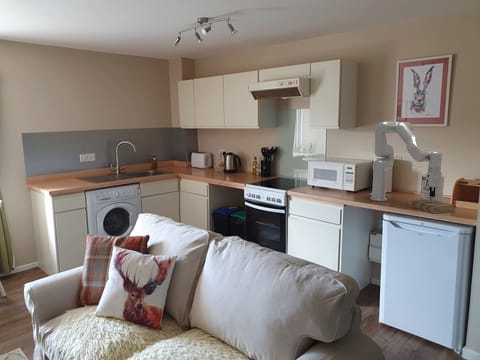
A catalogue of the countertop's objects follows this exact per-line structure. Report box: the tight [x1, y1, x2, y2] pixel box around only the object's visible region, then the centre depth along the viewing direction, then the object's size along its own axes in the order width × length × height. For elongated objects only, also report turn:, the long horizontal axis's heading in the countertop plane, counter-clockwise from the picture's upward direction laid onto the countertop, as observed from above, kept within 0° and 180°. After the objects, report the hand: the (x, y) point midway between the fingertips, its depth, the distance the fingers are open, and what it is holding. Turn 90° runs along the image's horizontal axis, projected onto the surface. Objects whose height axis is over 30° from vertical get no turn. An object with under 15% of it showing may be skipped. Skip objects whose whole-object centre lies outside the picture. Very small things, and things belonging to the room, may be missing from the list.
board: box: [410, 198, 454, 215], centre depth 250 cm, size 20×16×5 cm
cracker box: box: [419, 173, 445, 202], centre depth 268 cm, size 14×6×21 cm, turn 31°
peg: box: [429, 196, 435, 203], centre depth 250 cm, size 3×3×9 cm
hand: (432, 196), depth 249 cm, fingers closed
